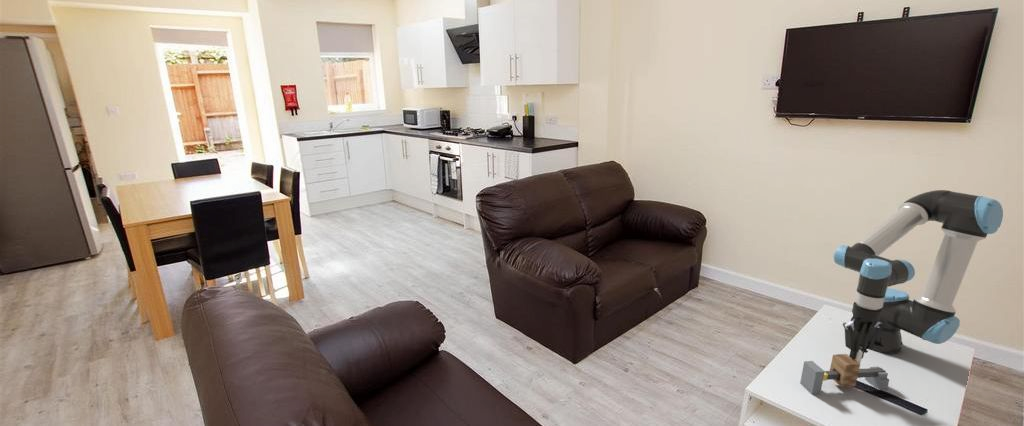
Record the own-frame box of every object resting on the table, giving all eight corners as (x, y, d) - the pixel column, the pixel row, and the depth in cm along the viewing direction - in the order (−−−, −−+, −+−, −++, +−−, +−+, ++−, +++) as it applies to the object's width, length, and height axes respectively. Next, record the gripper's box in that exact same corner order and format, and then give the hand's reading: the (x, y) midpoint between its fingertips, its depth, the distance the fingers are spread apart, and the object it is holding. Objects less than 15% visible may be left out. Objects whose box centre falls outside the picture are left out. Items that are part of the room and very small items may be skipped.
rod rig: (872, 378, 164) (877, 356, 161) (886, 389, 158) (892, 367, 156) (800, 383, 162) (804, 361, 160) (811, 394, 157) (816, 371, 154)
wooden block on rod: (842, 375, 163) (846, 353, 160) (855, 386, 157) (860, 364, 154) (828, 375, 162) (833, 354, 160) (841, 386, 157) (846, 365, 154)
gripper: (877, 298, 155) (863, 358, 162) (840, 300, 154) (828, 360, 161) (896, 309, 148) (881, 371, 155) (858, 311, 147) (844, 374, 154)
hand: (854, 366), depth 158 cm, fingers closed
